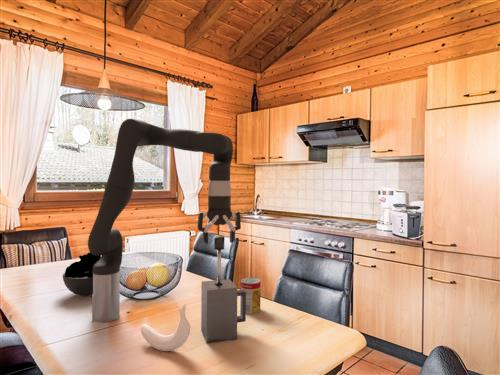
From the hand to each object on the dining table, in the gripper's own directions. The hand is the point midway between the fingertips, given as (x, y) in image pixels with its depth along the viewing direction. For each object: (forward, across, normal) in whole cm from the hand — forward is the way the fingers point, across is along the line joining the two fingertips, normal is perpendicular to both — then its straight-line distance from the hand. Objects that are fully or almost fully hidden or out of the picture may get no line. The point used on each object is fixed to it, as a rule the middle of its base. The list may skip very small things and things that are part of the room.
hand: (219, 242), depth 117 cm
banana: (+31, -18, -5) cm, 36 cm away
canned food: (+31, +17, +18) cm, 40 cm away
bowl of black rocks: (+31, -47, +56) cm, 79 cm away
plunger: (+16, 0, 0) cm, 16 cm away
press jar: (+31, +2, 0) cm, 31 cm away
